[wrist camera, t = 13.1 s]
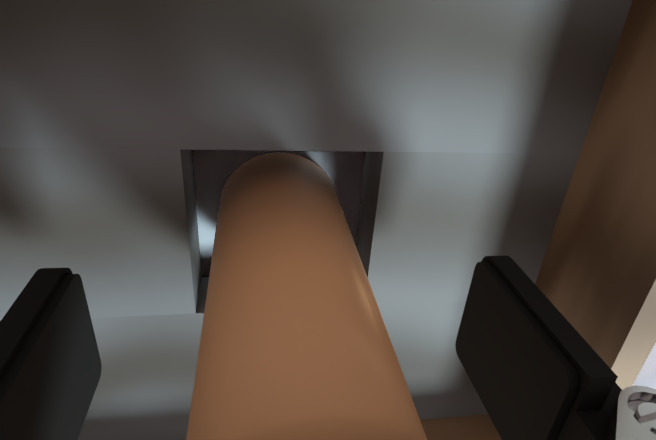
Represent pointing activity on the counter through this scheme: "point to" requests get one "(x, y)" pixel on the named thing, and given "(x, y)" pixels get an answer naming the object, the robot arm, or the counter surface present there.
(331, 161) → the counter surface
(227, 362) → the peg
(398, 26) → the bore box
